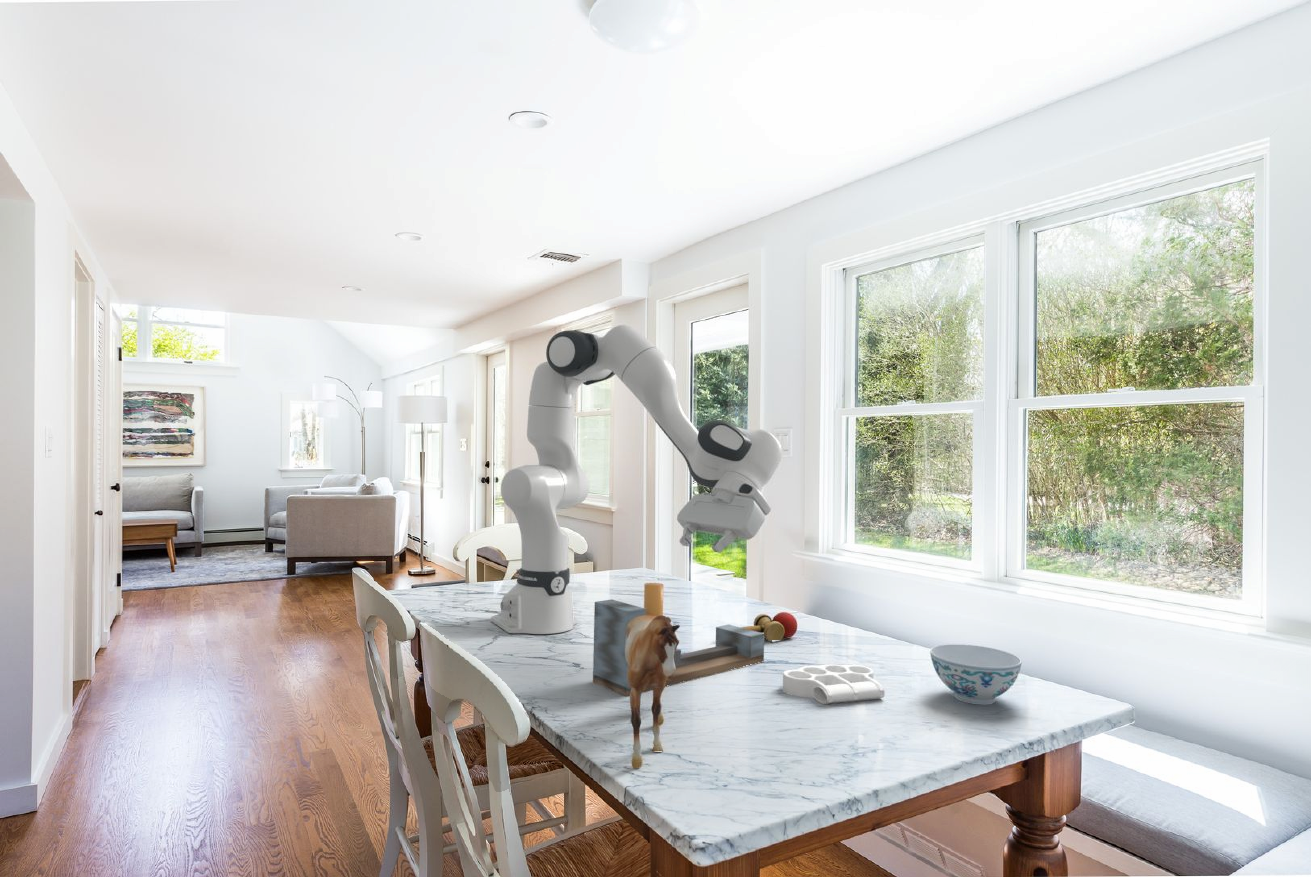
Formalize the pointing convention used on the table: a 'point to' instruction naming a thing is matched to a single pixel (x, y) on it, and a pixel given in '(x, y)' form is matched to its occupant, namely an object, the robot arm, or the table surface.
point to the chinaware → (975, 671)
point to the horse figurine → (649, 670)
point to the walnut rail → (728, 654)
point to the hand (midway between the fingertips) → (699, 547)
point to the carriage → (656, 606)
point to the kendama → (775, 626)
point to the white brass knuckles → (833, 683)
